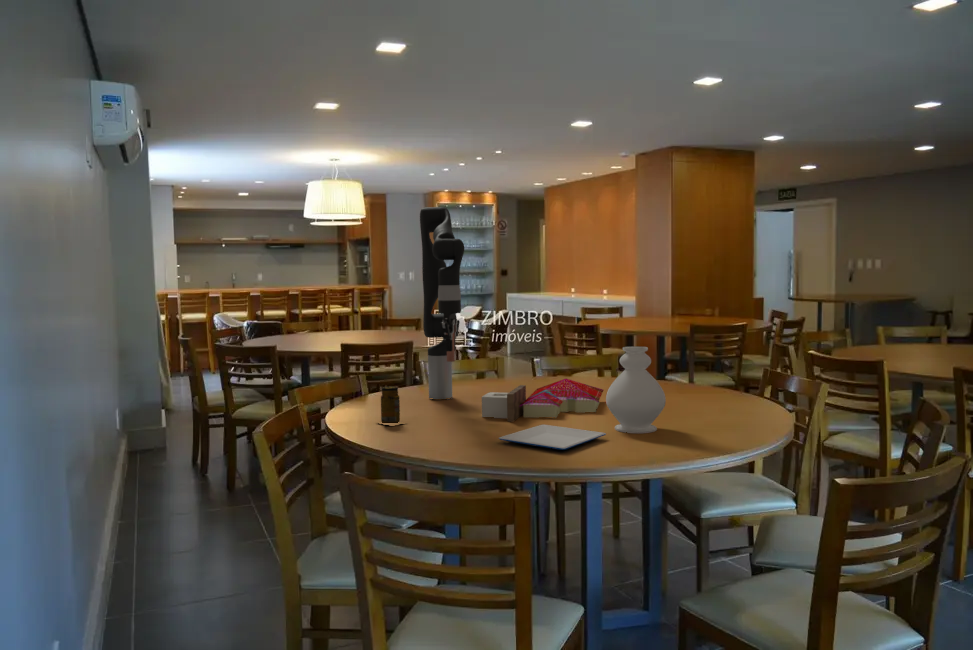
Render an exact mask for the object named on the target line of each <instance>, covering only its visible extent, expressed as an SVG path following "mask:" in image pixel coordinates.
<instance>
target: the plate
mask: <svg viewBox="0 0 973 650" xmlns="http://www.w3.org/2000/svg"><path fill="white" fill-rule="evenodd" d="M606 435H607V433H605V432H600V431H594V430H589V429H588V430H585V429H579V428H572V427H566V426H558V425H557V426H556V425H550V424H540V425H536V426H533V427H529V428H526V429H523V430H519V431H516V432H513V433H509V434H506V435H503V436H499V437H498V439H499V440H500V441H504V442H505V441H506V442H510V443H515V444H521V445H528V446H533V447H534V446H535V447H539V448H547V449H551V448H552V449H553V450H558V451H561V450H562V451H565V450H568V449H570V448H573V447H576V446H579V445H581V444H584V443H587V442H591V441H593V440H596V439H598V438H601V437H604V436H606Z"/></svg>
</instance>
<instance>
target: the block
mask: <svg viewBox="0 0 973 650" xmlns="http://www.w3.org/2000/svg"><path fill="white" fill-rule="evenodd" d="M508 393H509V392H497V391H496V392H493V391H491V392H487V393H486V394H484V395H482V396H481V418H482V417H494V418H493V419H507V394H508Z"/></svg>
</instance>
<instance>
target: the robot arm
mask: <svg viewBox="0 0 973 650" xmlns="http://www.w3.org/2000/svg"><path fill="white" fill-rule="evenodd" d="M452 225H453V224H452V218H451V214H450V210H449V209H448V208H447V207H445V206H431V207H430V206H429V207H427V206H426V207H422V208H421V209H420V212H419V226H420V238H421V248H422V251H421V252H422V253H421V255H422V256H421V257H422V258H421V259H422V261H421V263H422V267H421V269H422V270H421V271H422V272H421V273H422V289H423V320H422V321H423V334H424V336H425V338H430V339H431V338H432V339H433V338H442V340H441V341H440V342H439V343H437V344H435V345H432V346H430V347H429V348H427V370H428V371H427V373H428V374H427V375H428V377H427V378H428V399H429V398H433V399H446V398H451V397H452V398H453V367H452V366H453V365H452V363H453V362H447V351H452V350H453V348H452V334H453V333H454V351H456V349H457V347H456V340H457V337H459V328H460V319H458V318H457V317H458V316H457V314H460V313H461V312H462V299H461V298H462V297H461V294H462V293H461V287H460V286H461V285H460V274H461V273H460V272H461V265H462V260H463V256H464V254H465V243H464V242H463V241H462V240H461V239H460V238H456V237H455V235H454V232H453V226H452ZM431 233H432V238H433V242H432V239H431V237H430V236H431V235H430V234H431ZM446 261H452V263H451V265H449V266H447V264H446ZM436 302H437V303H438V305H437V306H438V311H437V312H438V313H432V312H433V309H434V306H435V304H436ZM447 334H448V335H447ZM452 398H451V399H452Z"/></svg>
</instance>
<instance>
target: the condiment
mask: <svg viewBox="0 0 973 650" xmlns="http://www.w3.org/2000/svg"><path fill="white" fill-rule="evenodd" d="M400 401H401V400H400V395H399V388H398V386H393V385H391V386H382V387H381V396H380V418H381V419H380V421H381V422H382V423H398V422H401V421H400V419H401V418H400V417H401V413H400V412H401V408H400V407H401V406H400Z"/></svg>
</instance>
